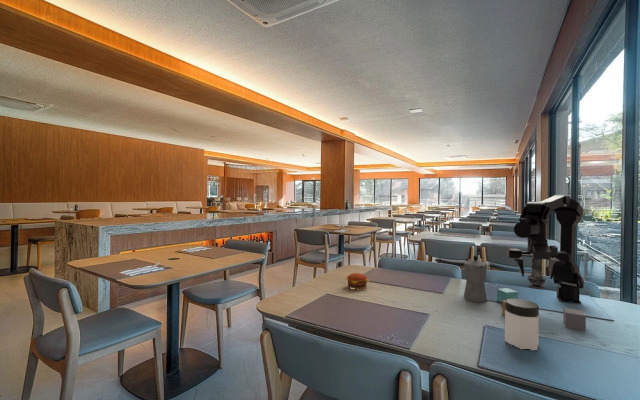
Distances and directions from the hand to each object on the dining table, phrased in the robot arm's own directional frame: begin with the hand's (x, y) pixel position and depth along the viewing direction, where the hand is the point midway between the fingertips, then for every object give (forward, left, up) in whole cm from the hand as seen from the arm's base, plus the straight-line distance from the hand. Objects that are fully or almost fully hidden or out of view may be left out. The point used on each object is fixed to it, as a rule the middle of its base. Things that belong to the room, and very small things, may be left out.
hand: (536, 277), depth 112 cm
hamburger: (+70, -5, -13) cm, 71 cm away
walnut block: (+9, +8, -13) cm, 18 cm away
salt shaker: (0, 0, -4) cm, 4 cm away
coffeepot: (+20, -9, -13) cm, 26 cm away
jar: (+11, +30, -13) cm, 34 cm away
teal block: (+8, -8, -13) cm, 17 cm away
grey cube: (-8, +10, -13) cm, 18 cm away
